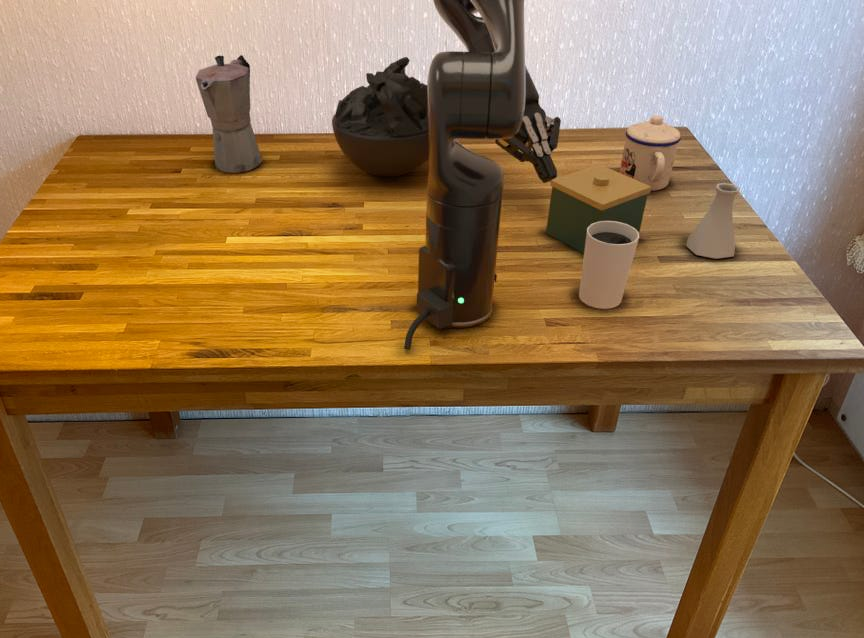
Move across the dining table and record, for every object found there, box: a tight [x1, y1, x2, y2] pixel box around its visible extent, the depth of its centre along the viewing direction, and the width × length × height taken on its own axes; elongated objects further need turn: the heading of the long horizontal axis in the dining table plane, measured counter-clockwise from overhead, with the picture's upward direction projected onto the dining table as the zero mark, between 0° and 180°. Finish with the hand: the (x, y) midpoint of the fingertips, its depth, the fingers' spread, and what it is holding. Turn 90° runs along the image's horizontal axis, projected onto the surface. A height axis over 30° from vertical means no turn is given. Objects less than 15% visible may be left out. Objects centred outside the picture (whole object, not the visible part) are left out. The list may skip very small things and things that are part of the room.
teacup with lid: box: [618, 114, 682, 192], centre depth 127 cm, size 12×9×12 cm
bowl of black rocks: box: [331, 56, 428, 178], centre depth 131 cm, size 20×20×19 cm
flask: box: [685, 182, 740, 260], centre depth 110 cm, size 7×7×10 cm
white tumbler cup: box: [578, 221, 640, 310], centre depth 99 cm, size 7×7×10 cm
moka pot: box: [195, 54, 263, 174], centre depth 134 cm, size 10×15×20 cm, turn 163°
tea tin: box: [545, 163, 652, 255], centre depth 113 cm, size 10×10×10 cm
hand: (550, 179), depth 119 cm, fingers closed
